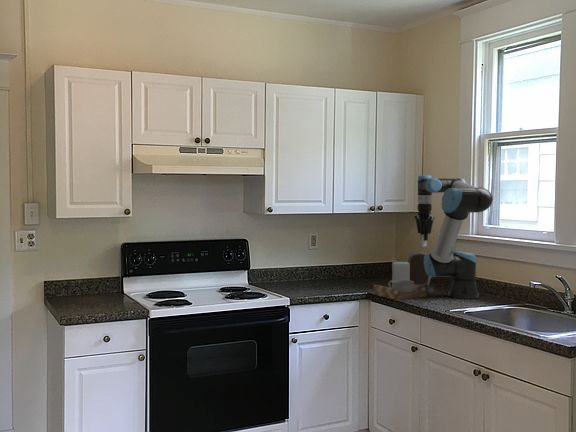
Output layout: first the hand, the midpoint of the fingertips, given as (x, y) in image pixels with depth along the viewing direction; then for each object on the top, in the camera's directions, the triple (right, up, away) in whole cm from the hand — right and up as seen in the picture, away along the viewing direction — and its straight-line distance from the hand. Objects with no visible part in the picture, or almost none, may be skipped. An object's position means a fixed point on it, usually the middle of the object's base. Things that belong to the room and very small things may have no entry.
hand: (424, 246), depth 343 cm
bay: (-13, -25, -16) cm, 32 cm away
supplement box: (-12, -24, +3) cm, 27 cm away
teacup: (-16, -25, -19) cm, 35 cm away
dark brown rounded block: (+1, -24, +18) cm, 30 cm away
